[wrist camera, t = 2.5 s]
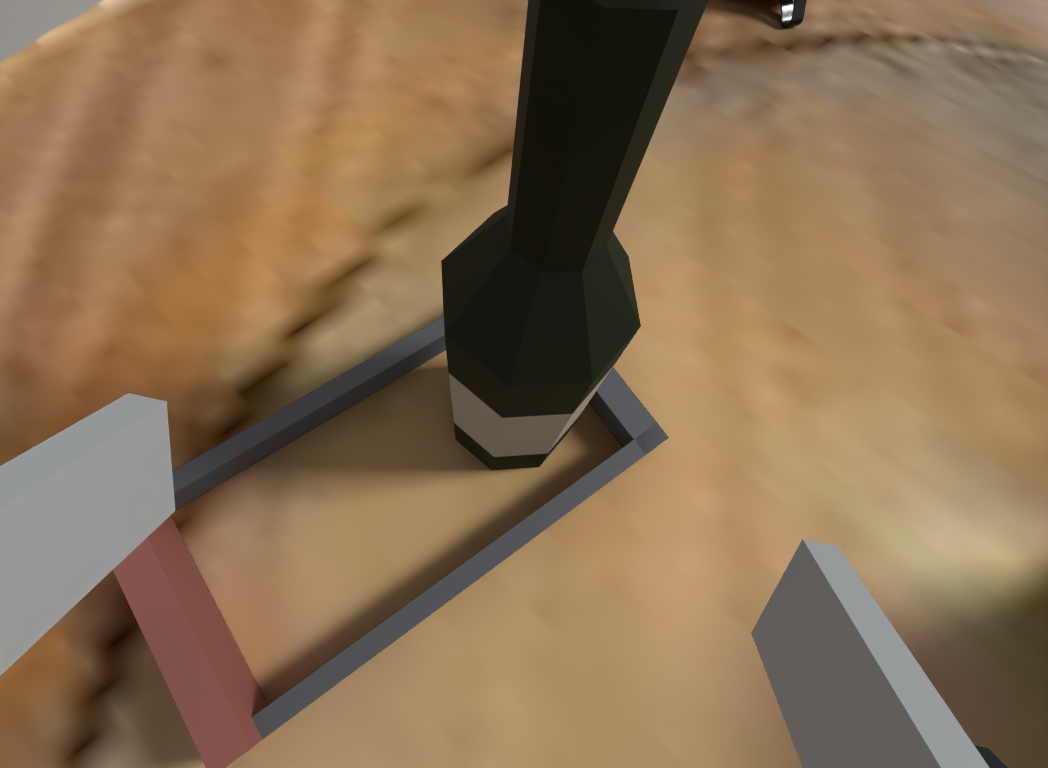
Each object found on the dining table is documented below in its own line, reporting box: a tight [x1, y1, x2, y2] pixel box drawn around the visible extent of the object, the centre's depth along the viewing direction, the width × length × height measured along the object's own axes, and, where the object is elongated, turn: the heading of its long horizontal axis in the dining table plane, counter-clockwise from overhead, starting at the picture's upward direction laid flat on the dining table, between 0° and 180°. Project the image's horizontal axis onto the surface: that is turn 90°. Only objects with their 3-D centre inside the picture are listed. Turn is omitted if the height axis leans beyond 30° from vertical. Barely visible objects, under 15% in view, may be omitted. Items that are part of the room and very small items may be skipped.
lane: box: [113, 316, 669, 768], centre depth 33 cm, size 30×15×4 cm, turn 125°
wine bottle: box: [441, 0, 708, 470], centre depth 23 cm, size 8×8×30 cm
